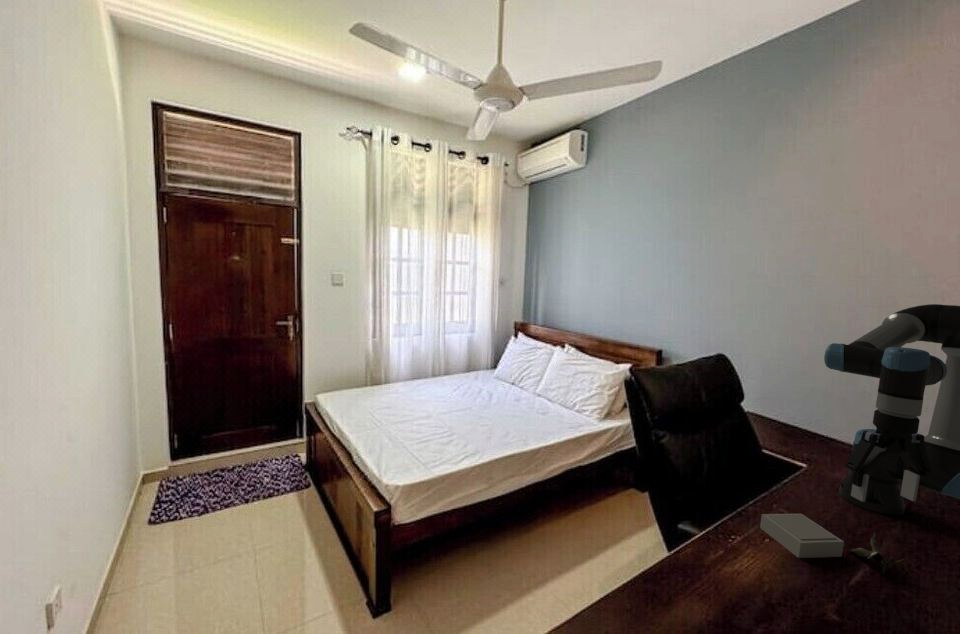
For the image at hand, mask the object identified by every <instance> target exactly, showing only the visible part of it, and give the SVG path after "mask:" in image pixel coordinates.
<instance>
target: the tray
mask: <svg viewBox="0 0 960 634" xmlns="http://www.w3.org/2000/svg"><path fill="white" fill-rule="evenodd" d="M760 516H761V518H760V524H759V525H760V526H759V528H760V529H761V530H762V531H763V532H764V533H766V534H767V535H769V536H770V538H772V539H774V540H775V541H776V542H777V543H778V544H780V545H782V546H783V547H784V548H785V549H786V550H787V551H789V552H790V553H791V554H793V555H794V556H795V557H796V558H797V559H807V558H809V559H810V558H812V559H814V558H842V557H843V552H844V551H843V550H844V545H845V541H844V540H843V539H841V538H839V537H838V536H836V535H835V534H833V533H831V532H830V531H828V530H827V529H825V528H824V527H822V526H821V525H819V524H818V523H816V522H814V521H813V520H812V519H810V518H808V517H807V516H805V515H804V514H802V513H761V515H760Z"/></svg>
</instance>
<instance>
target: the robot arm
mask: <svg viewBox="0 0 960 634" xmlns="http://www.w3.org/2000/svg"><path fill="white" fill-rule="evenodd" d="M915 342H927V343H935V344H941V348H940V350H941V351H942V352H943V353H944V354H945V356H946V360H945V362H944V361H943V360H942V359H941V358H939V357H937V356H935V355H931V354H930V352H929V351H927V350H924V349H918V348H912V347H903V346H905V345H906V344H912V343H915ZM823 359H824V361H823V362H824V364H825V366H826V367H827V368H828V369H830V370H835V371H839V372H841V373H849V374H853V375H860V376H866V377H869V378H870V377H871V378H876V379H878V380H879V381H878V387H877V388H878V389H877V395H876V400H875V401H876V402H875V408H876V410H874V412H873V419H872V424H873V426H875V428H864V429H863V428H862V429H859V430H858V431H856V433H855V436H854V440H853V442H852V445H853V446H852V452H851V455H850V456H849V457H848V459H847V461H846V462H845V465H844V466H845V467H846V468H847V469H848V473H847V475H846V476H845V477H844V479H843V480H842V482H841V483H840V484H839V488H838V489H839V490H838V493H839V495H840V496H841V497H842V499H845V501H847V502H850V503H851V504H853V505H856V506H858V507H861V508H864V509H866V510H869V511H872V512H874V513H879V514H882V515H883V514H884V515H889V516H890V515H891V516H902V515H904V514H905V511H906V503H905V502H904V501H905V500H904V499H907V500H909V501H911V502H916V501H917V496H918V492H919V491H918V490H919V487H922V488H925V489H928V490H930V491H933V492H936V493H938V494H941V495H943V496H948V497H952V498H955V499H959V500H960V305H956V304H953V305H951V304H949V305H948V304H937V303H933V304H931V303H930V304H923V305H922V304H921V305H917V306H916V305H915V306H911V307H908V308H905V309H901V310H898V311H896V312H893V313H892V314H889V315H888V316H887V317H884V319H883V321H882V323H881V324H880V325H879V326H877V327H875V328H874V329H872V330H870V331H869V332H867V333H865V334H864V335H862V336H861V337H859V338H857V339H855V340H854V341H852V342H850V343H849V344H845V343H831V344H829V345H828V346H827V347H826V349H825V353H824V358H823ZM939 382H940V384H939V388H938V391H937V396H936V401H935V406H934V408H933V409H934V410H933V413H932V417H931V421H930V425H929V430H928V433H927V435H923V434H921V433H918V432H919V429H920V427H919V426H920V421H921V420H920V419H919V417H920V416H922V413H923V411H922V410H923V404H924V395H925V390H926V386H933V385H936V384H938V383H939Z"/></svg>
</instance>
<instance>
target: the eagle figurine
mask: <svg viewBox="0 0 960 634" xmlns="http://www.w3.org/2000/svg"><path fill="white" fill-rule="evenodd" d="M876 537H877V533H876V532H875V531H874V532H873V534H872V537H871V539H870V546H871V549H872V550H871V551H870V550H867V549H866V548H862V547H857V548H851V549H849V552H852V553H855V554H857V556H859V557H861V558H866V557H867V559H869V560H870V559H872V560H874V562H875V563H876V564H878V566H880V567H881V572H882V574H885V572H886V571H887V570H888V569H889V568H891V567H893V566H895V565H898V564H899V565H900V564H902V563H904V562H905V561H906V559H905V558H903V559H900V560H896V561H895V558H894V557H893V555H891V556H890V557H889V558H888V560H887V559H886V558H885V557H884V556H883V555H881V553H880V552H879V550H880V548H879V544H878V542H877V541H876V539H877V538H876Z"/></svg>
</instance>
